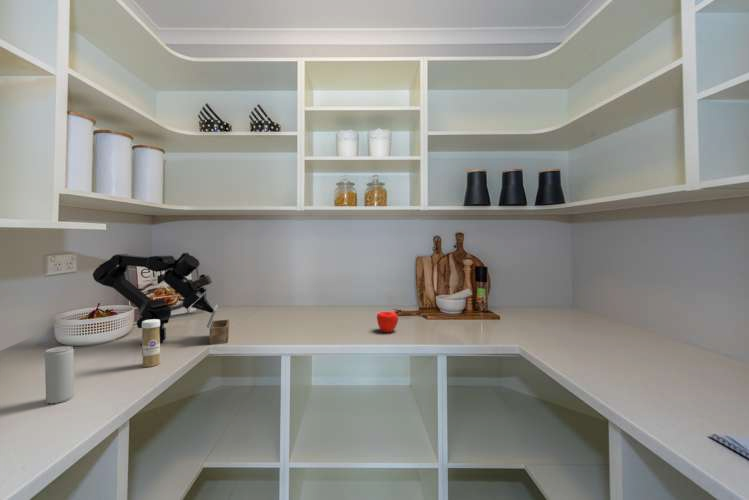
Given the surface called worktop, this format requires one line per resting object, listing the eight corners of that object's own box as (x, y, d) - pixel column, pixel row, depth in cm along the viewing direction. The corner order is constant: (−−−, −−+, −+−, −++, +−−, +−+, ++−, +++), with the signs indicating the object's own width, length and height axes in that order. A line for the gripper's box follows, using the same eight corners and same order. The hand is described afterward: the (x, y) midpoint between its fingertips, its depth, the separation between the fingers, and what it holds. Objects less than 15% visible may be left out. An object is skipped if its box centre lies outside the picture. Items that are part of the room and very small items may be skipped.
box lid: (208, 327, 116) (206, 327, 116) (211, 320, 128) (209, 319, 128) (215, 311, 117) (213, 310, 117) (218, 304, 129) (216, 304, 128)
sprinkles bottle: (146, 368, 94) (146, 322, 94) (139, 365, 97) (138, 321, 96) (163, 363, 98) (163, 319, 98) (155, 360, 101) (155, 317, 100)
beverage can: (80, 394, 78) (79, 345, 78) (61, 404, 73) (60, 352, 73) (59, 395, 78) (58, 345, 78) (39, 405, 73) (38, 352, 73)
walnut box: (209, 344, 117) (209, 328, 117) (212, 335, 128) (212, 320, 128) (227, 342, 119) (227, 326, 119) (229, 334, 130) (228, 319, 130)
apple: (399, 329, 139) (399, 311, 139) (395, 334, 131) (396, 315, 131) (379, 327, 141) (379, 309, 141) (374, 333, 133) (374, 314, 133)
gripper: (193, 269, 111) (228, 300, 116) (201, 266, 129) (231, 292, 133) (166, 293, 109) (203, 323, 113) (178, 286, 126) (209, 313, 130)
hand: (213, 311), depth 122 cm, fingers closed, pressing on box lid
